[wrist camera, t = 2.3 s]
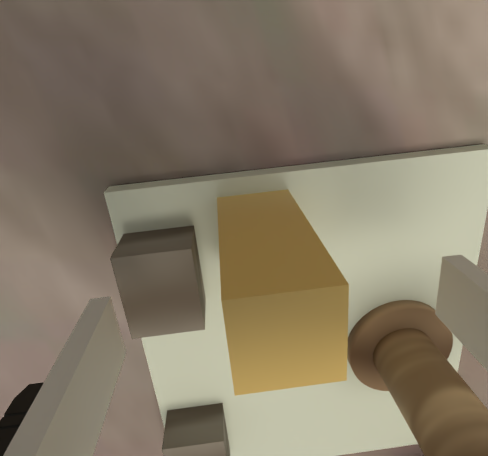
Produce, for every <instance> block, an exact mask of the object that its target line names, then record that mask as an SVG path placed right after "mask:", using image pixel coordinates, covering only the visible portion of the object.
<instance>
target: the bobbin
mask: <svg viewBox="0 0 488 456" xmlns="http://www.w3.org/2000/svg"><path fill="white" fill-rule="evenodd" d="M452 346H453V335H452V332H451V331H450V330H449V329H448V328H447V327H446V326H445V324H444V323H443V322H442V321H441V320H440V319H439V318H438V317H437V316H436V315H435V309H434V308H432V307H431V306H429V305H427V304H425V303H423V302H419V301H414V300H398V301H393V302H389V303H386V304H383V305H381V306H378V307H376V308H375V309H373V310H371V311H370V312H368V313H367V314H365V315H364V316H363V317H362V318H361V319H360V320H359V321H358V322H357V323H356V324H355V326H354V327H353V329H352V330H351V332H350V334H349V336H348V348H347V359H348V362H349V364H350V366H351V368H352V370H353V372H354V374H355V376H356V377H357V378H358V380H359V381H360V382H362V383H363V384H364V385H366V386H368V387H370V388H373V389H376V390H380V391H389V392H390V394H391V396H392V397H393V399H394V401H395V403H396V405H397V406H398V408H399V410H400V412H401V414H402V415H403V417H404V419H405V421H406V423H407V424H408V426H409V428H410V430H411V432H412V434H413V435H414V437H415V439H416V441H417V443H418V444H419V446H420V448H421V450H422V452H423V453H424V455H425V456H488V410H487V408H486V407H485V406H484V405H483V403H482V402H481V401H480V400H479V398H478V397H477V396H476V395H475V394H474V392H473V391H472V390H471V389H470V387H469V386H468V385H467V384H466V382H465V381H464V380H463V379H462V378H461V376H460V375H459V374H458V373H457V371H456V370H455V369H454V368H453V366H452V365H451V364H450V363H449V362H448V360H447V359H448V357H449V355H450V353H451V350H452Z"/></svg>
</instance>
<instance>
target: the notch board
mask: <svg viewBox="0 0 488 456" xmlns="http://www.w3.org/2000/svg"><path fill="white" fill-rule="evenodd" d="M110 260H111V263H112V267H113V271H114V274H115V278H116V282H117V285H118V289H119V293H120V297H121V300H122V304H123V308H124V311H125V315H126V319H127V322H128V326H129V330H130V334H131V337H132V339H136V338H143V337H151V336H159V335H167V334H175V333H182V332H190V331H198V330H205V308H206V297H205V291H204V285H203V278H202V272H201V266H200V260H199V254H198V247H197V241H196V235H195V229H194V225H193V226H184V227H176V228H167V229H159V230H150V231H142V232H133V233H125V234H123V236H122V237H121V239H120V241H119V243H118V245H117V247H116V249H115V250H114V252H113V254H112V256H111V258H110ZM162 452H163V456H230V446H229V440H228V434H227V428H226V421H225V415H224V409H223V403H218V404H210V405H203V406H196V407H188V408H181V409H173V410H167V415H166V423H165V430H164V438H163V446H162Z"/></svg>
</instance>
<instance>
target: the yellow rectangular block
mask: <svg viewBox="0 0 488 456" xmlns="http://www.w3.org/2000/svg"><path fill="white" fill-rule="evenodd" d="M217 212H218V235H219V259H220V282H221V302H222V309H223V316H224V323H225V331H226V338H227V345H228V352H229V359H230V366H231V373H232V380H233V387H234V394H235V396H236V395H244V394H251V393H258V392H266V391H273V390H281V389H288V388H295V387H303V386H310V385H317V384H325V383H332V382H340V381H347V348H348V307H349V284H348V282H347V281H346V279H345V278H344V276H343V274H342V273H341V271H340V270H339V268H338V267H337V265H336V263H335V262H334V260H333V259H332V257H331V256H330V254H329V253H328V251H327V249H326V248H325V246H324V245H323V243H322V242H321V240H320V238H319V237H318V235H317V234H316V232H315V231H314V229H313V228H312V226H311V224H310V223H309V221H308V220H307V218H306V217H305V215H304V214H303V212H302V210H301V209H300V207H299V206H298V204H297V203H296V201H295V199H294V198H293V196H292V195H291V193H290V192H289V190H288V189H287V190H278V191H269V192H261V193H252V194H243V195H234V196H226V197H217Z"/></svg>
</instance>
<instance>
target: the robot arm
mask: <svg viewBox="0 0 488 456" xmlns="http://www.w3.org/2000/svg"><path fill="white" fill-rule="evenodd" d="M435 315H436V316H437V317H438V318H439V319H440V320H441V321H442V322H443V323H444V324H445V326H446V327H447V328H448V329H449V330H450V331H451V332H452V333H453V334H454V335H455V336H456V338H457V339H458V340H459V341H460V342H461V343H462V344H463V345H464V346H465V347H466V348H467V349H468V351H469V352H470V353H471V354H472V355H473V356H474V357H475V358H476V359H477V360H478V361H479V362H480V364H481V365H482V366H483V367H484V368H485V369H486V370H487V371H488V274H487V273H486V272H485V271H483V270H482V269H480V268H479V267H478V266H476V265H475V264H474V263H472V262H471V261H469V260H468V259H467V258H465V257H464V256H463V255H453V256H444V257H442V263H441V271H440V279H439V287H438V295H437V303H436V310H435ZM125 354H126V351H125V347H124V343H123V340H122V336H121V333H120V329H119V325H118V322H117V318H116V314H115V311H114V307H113V304H112V300H111V297H102V298H94V299H90V301H89V303H88V304H87V306H86V308H85V310H84V312H83V313H82V315H81V317H80V319H79V321H78V322H77V324H76V326H75V328H74V330H73V331H72V333H71V335H70V337H69V339H68V340H67V342H66V344H65V346H64V347H63V349H62V351H61V353H60V355H59V356H58V358H57V360H56V362H55V364H54V365H53V367H52V369H51V371H50V373H49V374H48V376H47V378H46V380H45V382H44V383H36V384H29V385H28V386H27V387H26V388H25V389H24V390H23V391H22V392H21V393H20V394H18V395H17V396H16V397H15V398H14V400H13V401H12V403H11V404H10V406H9V408H8V409H7V411H6V412H5V414H4V417H3V418H2V419H1V420H0V456H93V454H94V451H95V448H96V445H97V442H98V438H99V435H100V432H101V429H102V426H103V423H104V420H105V417H106V414H107V410H108V407H109V404H110V401H111V398H112V395H113V392H114V389H115V386H116V382H117V379H118V376H119V373H120V370H121V367H122V364H123V361H124V358H125Z"/></svg>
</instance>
